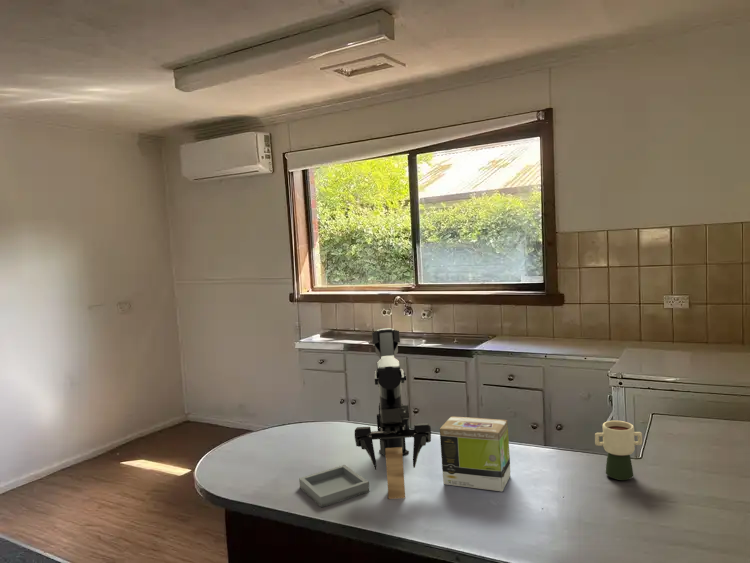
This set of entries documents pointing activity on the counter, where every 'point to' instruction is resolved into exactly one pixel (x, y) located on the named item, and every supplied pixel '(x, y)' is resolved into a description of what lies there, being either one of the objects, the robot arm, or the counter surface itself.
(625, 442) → the character mug
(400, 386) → the robot arm
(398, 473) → the oak post
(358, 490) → the tray
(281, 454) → the counter surface
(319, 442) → the counter surface
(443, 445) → the tea box
